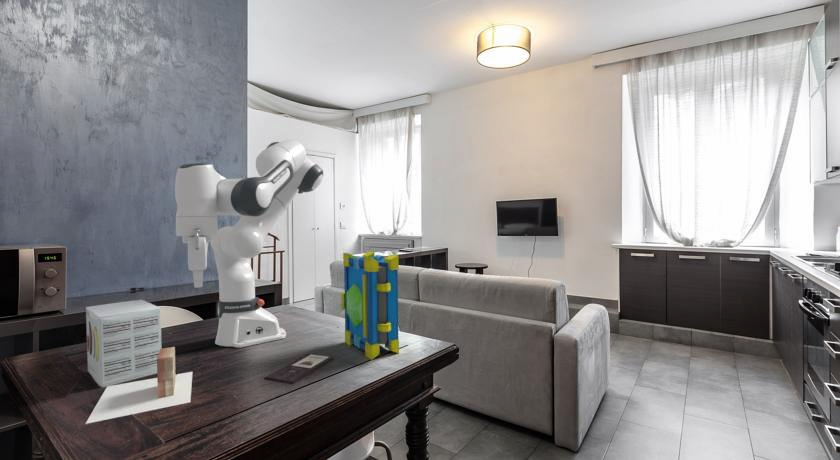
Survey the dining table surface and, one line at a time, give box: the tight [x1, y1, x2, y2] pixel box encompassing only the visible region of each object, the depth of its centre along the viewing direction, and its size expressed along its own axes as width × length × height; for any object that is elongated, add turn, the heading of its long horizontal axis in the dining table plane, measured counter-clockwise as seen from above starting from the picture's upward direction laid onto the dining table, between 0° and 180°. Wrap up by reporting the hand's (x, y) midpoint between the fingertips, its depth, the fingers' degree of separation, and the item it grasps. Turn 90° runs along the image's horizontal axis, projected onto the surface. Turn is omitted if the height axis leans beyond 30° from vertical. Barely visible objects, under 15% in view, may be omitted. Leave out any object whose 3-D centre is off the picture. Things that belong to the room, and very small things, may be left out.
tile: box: [156, 346, 176, 398], centre depth 92 cm, size 3×8×9 cm, turn 29°
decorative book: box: [340, 250, 400, 361], centre depth 122 cm, size 14×23×30 cm, turn 33°
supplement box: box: [85, 299, 163, 388], centre depth 104 cm, size 17×13×18 cm
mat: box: [85, 371, 193, 425], centre depth 90 cm, size 18×20×1 cm
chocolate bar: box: [263, 353, 334, 385], centre depth 106 cm, size 9×1×18 cm
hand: (198, 284), depth 95 cm, fingers open, 6 cm apart
